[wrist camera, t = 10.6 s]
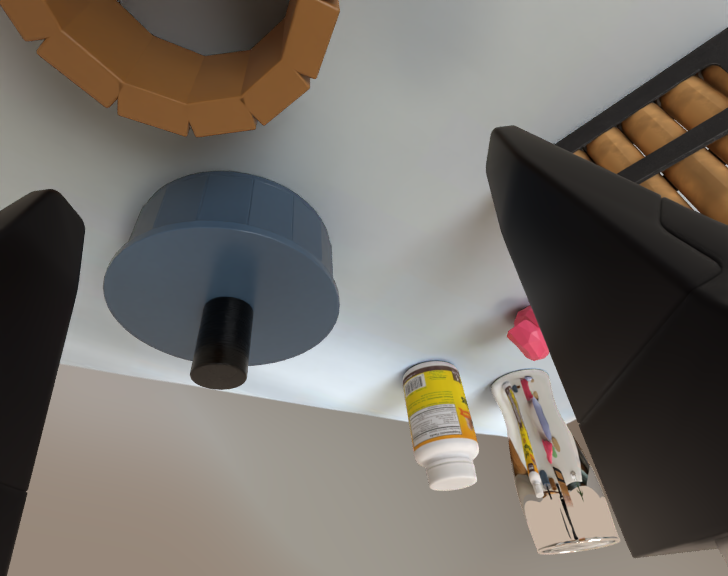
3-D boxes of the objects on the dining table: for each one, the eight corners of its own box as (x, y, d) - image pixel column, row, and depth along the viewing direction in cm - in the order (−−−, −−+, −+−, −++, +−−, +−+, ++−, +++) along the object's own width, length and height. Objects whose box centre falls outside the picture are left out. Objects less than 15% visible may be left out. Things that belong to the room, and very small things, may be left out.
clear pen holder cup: (541, 358, 40) (615, 536, 30) (560, 382, 45) (629, 543, 35) (475, 382, 43) (524, 552, 33) (499, 402, 47) (548, 557, 38)
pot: (98, 240, 24) (70, 299, 21) (229, 129, 20) (215, 185, 17) (245, 322, 31) (239, 374, 29) (364, 255, 27) (371, 309, 24)
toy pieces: (527, 352, 39) (544, 396, 36) (486, 295, 31) (504, 343, 29) (668, 302, 34) (700, 347, 32) (660, 221, 27) (701, 270, 24)
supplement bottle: (453, 383, 42) (479, 490, 36) (399, 388, 42) (416, 496, 36) (462, 355, 38) (494, 471, 32) (403, 360, 38) (423, 478, 31)
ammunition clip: (525, 193, 24) (626, 378, 16) (510, 174, 23) (612, 363, 15) (738, 57, 19) (1028, 232, 11) (733, 24, 18) (1052, 193, 10)
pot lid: (62, 289, 21) (18, 377, 18) (215, 163, 17) (192, 252, 13) (240, 370, 29) (232, 442, 26) (379, 300, 25) (390, 377, 21)
